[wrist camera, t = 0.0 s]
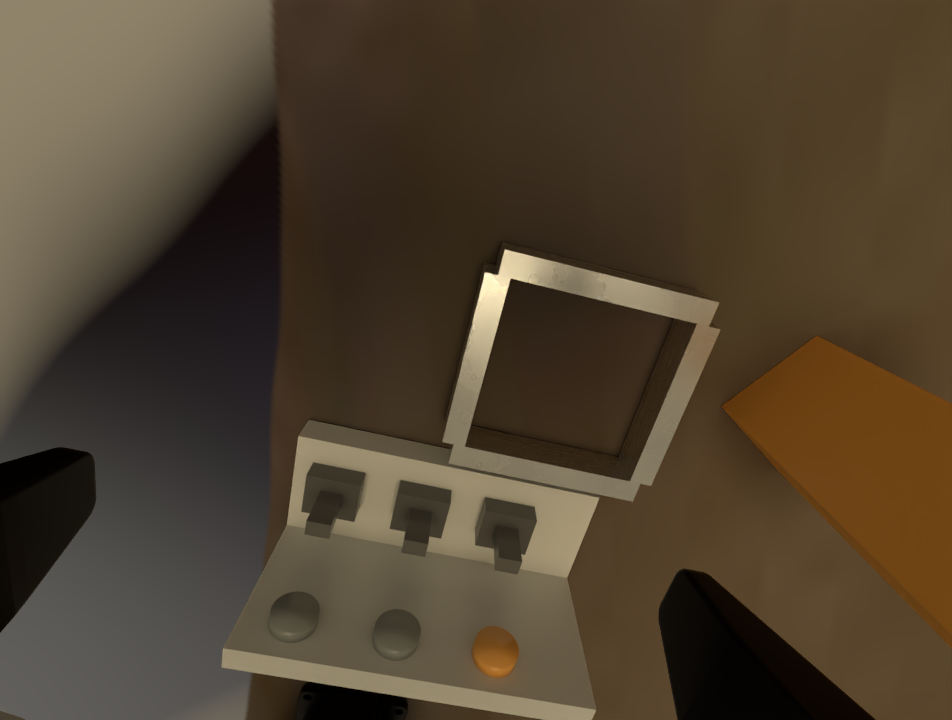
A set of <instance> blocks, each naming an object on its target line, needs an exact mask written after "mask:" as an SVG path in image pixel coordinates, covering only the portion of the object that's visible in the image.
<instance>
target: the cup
mask: <svg viewBox="0 0 952 720" xmlns="http://www.w3.org/2000/svg"><path fill="white" fill-rule="evenodd" d="M0 720H24V719H23V718H21V717H18V716H14V715H11V714H8V713H5V712H2V711H0Z"/></svg>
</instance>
